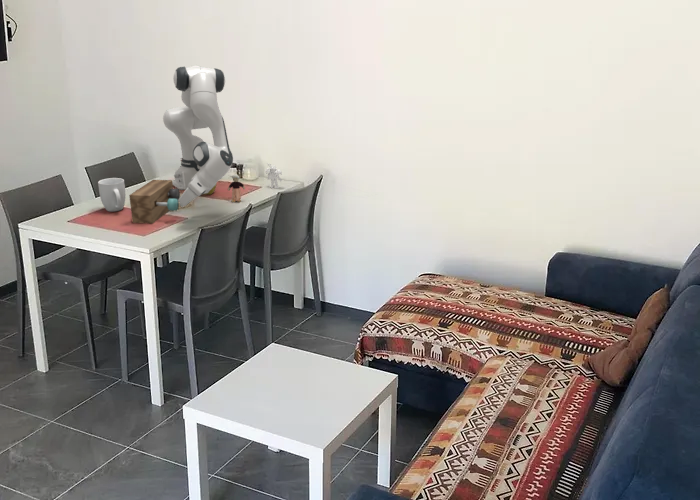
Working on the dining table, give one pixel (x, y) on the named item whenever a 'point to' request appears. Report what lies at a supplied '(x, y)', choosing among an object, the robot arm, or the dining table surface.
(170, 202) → the knob teal
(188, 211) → the dining table surface
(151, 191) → the walnut mount
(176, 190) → the knob black
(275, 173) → the flower shoulder figurine
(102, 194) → the mug
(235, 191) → the grandmother figurine
